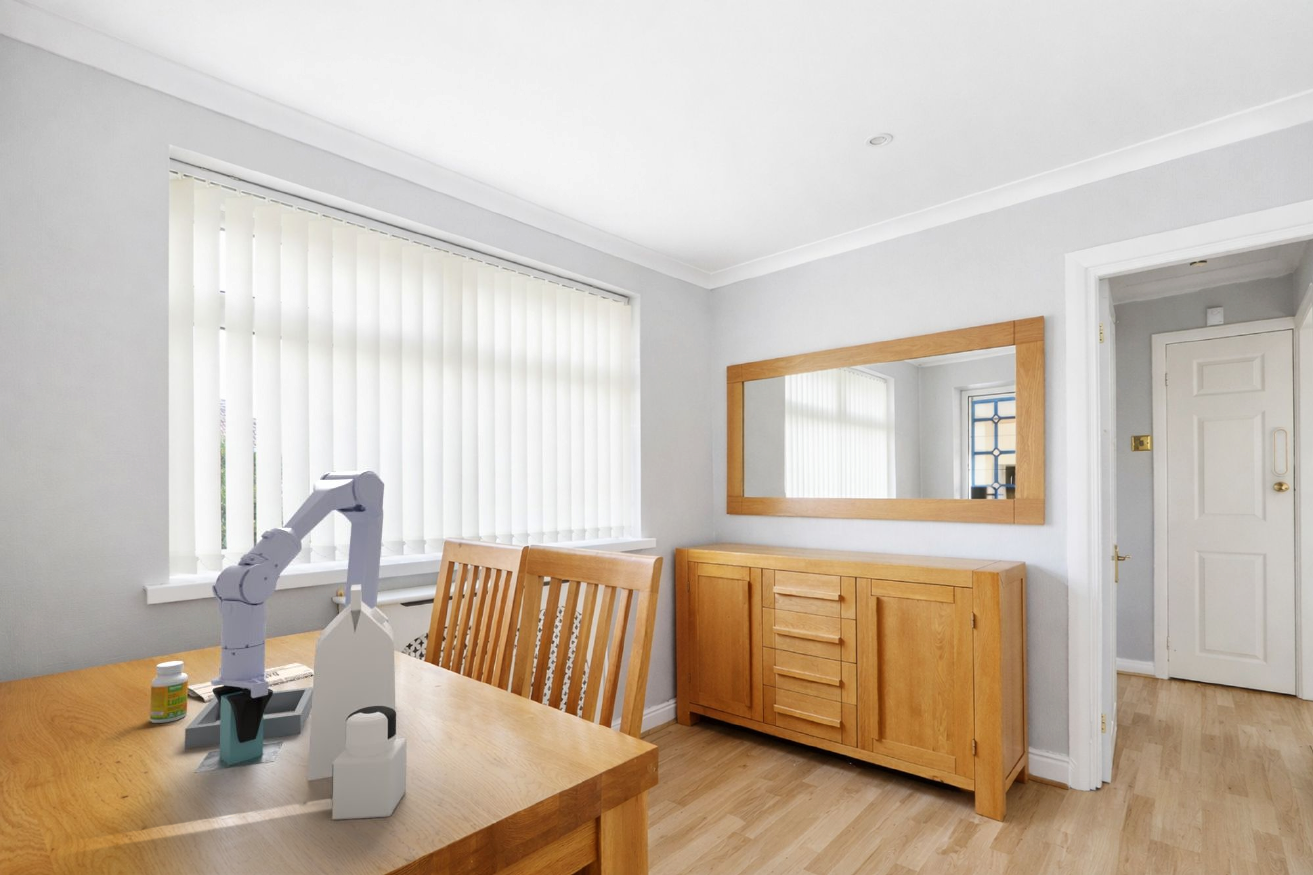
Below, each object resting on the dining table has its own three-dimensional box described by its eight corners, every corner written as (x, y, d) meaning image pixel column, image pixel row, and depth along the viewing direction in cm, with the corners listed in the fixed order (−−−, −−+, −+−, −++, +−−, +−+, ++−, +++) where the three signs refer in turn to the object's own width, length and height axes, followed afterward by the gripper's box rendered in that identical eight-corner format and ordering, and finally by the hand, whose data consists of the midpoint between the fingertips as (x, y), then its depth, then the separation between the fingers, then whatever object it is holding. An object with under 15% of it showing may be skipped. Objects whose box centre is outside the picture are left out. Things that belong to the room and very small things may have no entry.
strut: (252, 748, 103) (253, 688, 104) (262, 755, 100) (263, 694, 101) (219, 757, 100) (221, 695, 101) (229, 764, 97) (230, 701, 98)
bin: (313, 708, 124) (313, 686, 124) (300, 739, 109) (300, 714, 109) (212, 721, 118) (213, 698, 119) (184, 755, 103) (185, 728, 104)
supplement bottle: (167, 724, 117) (168, 668, 118) (142, 723, 118) (143, 667, 119) (194, 714, 122) (195, 660, 123) (169, 712, 123) (171, 659, 124)
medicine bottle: (352, 794, 89) (353, 702, 90) (406, 791, 90) (407, 700, 91) (330, 821, 82) (332, 721, 83) (390, 817, 83) (391, 718, 84)
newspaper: (289, 669, 154) (290, 658, 154) (316, 683, 147) (317, 671, 147) (174, 695, 135) (175, 682, 136) (198, 712, 128) (199, 699, 128)
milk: (313, 756, 102) (316, 584, 104) (394, 743, 107) (395, 579, 109) (307, 788, 91) (309, 596, 93) (397, 772, 96) (398, 589, 98)
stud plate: (283, 748, 106) (283, 728, 106) (273, 768, 98) (274, 747, 98) (209, 758, 102) (209, 738, 102) (193, 779, 95) (194, 758, 95)
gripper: (197, 642, 103) (195, 733, 102) (230, 657, 93) (227, 757, 93) (248, 634, 108) (246, 720, 107) (284, 647, 99) (282, 741, 98)
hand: (241, 736), depth 100 cm, fingers closed on strut, 4 cm apart
